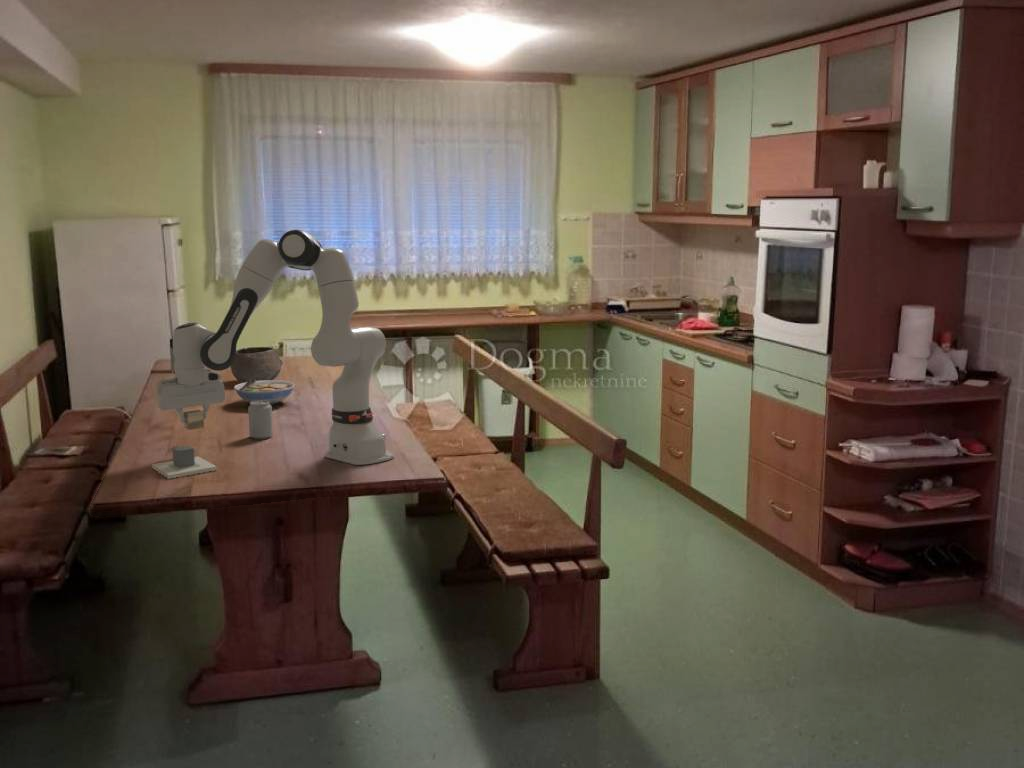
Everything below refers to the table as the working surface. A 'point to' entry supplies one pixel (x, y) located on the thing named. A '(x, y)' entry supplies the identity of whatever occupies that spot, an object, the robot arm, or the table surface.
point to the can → (260, 419)
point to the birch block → (194, 419)
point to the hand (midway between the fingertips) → (193, 420)
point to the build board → (183, 468)
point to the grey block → (183, 456)
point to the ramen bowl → (264, 390)
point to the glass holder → (172, 356)
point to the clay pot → (256, 364)
